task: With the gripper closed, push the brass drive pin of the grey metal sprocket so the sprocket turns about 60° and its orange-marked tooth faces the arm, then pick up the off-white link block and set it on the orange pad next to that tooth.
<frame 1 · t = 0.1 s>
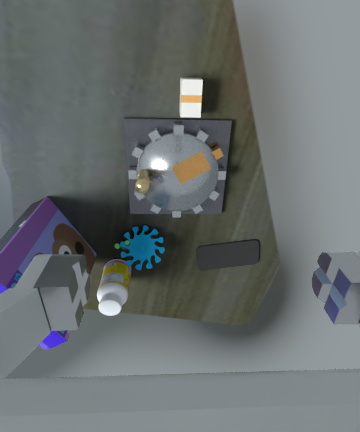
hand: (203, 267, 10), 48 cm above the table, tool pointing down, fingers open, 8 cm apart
sprocket: (178, 179, 54), point 5 cm above the table, hinge at 0.0°
supplement bottle: (118, 267, 71), on the table
blue splat toy: (141, 237, 67), on the table
link block: (189, 95, 52), on the table
cereal box: (65, 230, 65), on the table
phone: (227, 253, 71), on the table
base plate: (177, 169, 59), on the table
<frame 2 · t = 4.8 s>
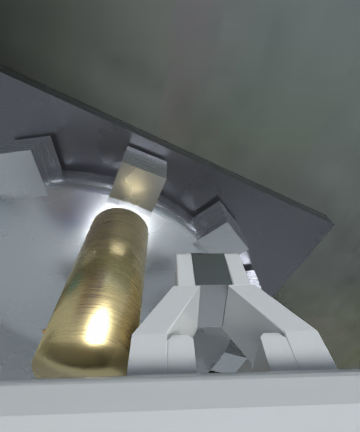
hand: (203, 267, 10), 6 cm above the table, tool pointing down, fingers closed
sprocket: (70, 366, 13), point 5 cm above the table, hinge at 2.3°, touching gripper
base plate: (95, 284, 18), on the table
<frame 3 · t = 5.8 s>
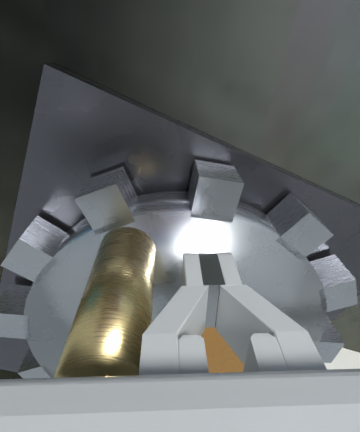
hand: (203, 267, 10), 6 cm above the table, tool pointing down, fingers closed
sprocket: (179, 376, 14), point 5 cm above the table, hinge at 44.1°, touching gripper
link block: (326, 359, 23), on the table
base plate: (176, 295, 18), on the table
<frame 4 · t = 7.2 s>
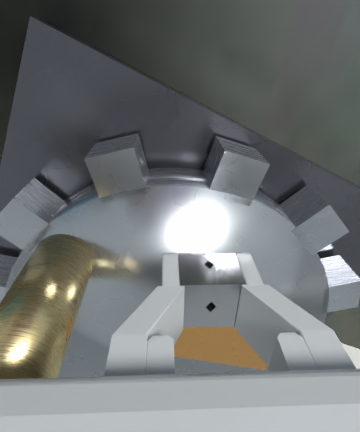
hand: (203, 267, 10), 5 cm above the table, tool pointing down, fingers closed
sprocket: (172, 367, 13), point 5 cm above the table, hinge at 68.5°
base plate: (169, 284, 17), on the table
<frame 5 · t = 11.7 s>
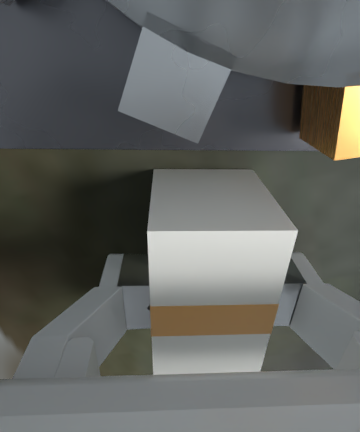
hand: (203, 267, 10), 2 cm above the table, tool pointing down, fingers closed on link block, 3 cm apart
link block: (199, 239, 12), on the table, touching gripper
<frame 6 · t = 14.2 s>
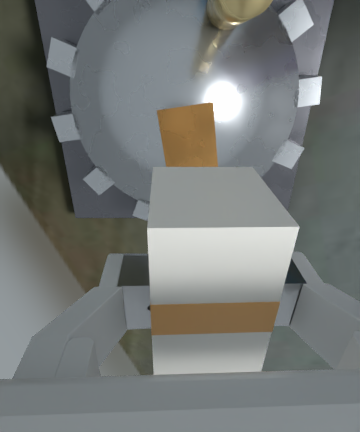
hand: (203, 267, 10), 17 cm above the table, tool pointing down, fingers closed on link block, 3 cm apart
sprocket: (186, 115, 19), point 5 cm above the table, hinge at 68.5°
link block: (198, 238, 11), point 15 cm above the table, touching gripper
base plate: (183, 104, 23), on the table
when the fingers open (6 cm above the table, at t = 16.5 s): link block drops 1 cm, resting on sprocket.
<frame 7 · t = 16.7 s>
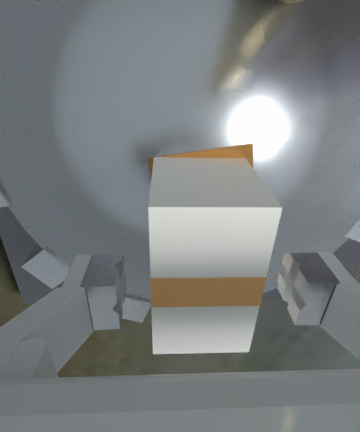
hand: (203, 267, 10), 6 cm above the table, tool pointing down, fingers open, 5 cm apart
sprocket: (207, 178, 9), point 5 cm above the table, hinge at 68.5°, touching link block
link block: (195, 224, 12), point 3 cm above the table, touching sprocket
base plate: (193, 136, 14), on the table
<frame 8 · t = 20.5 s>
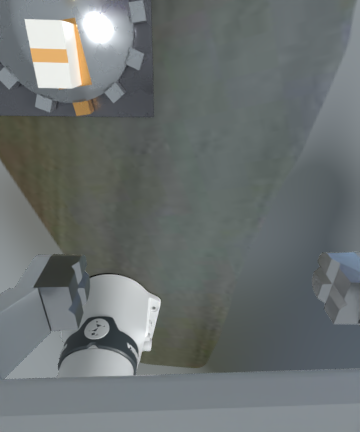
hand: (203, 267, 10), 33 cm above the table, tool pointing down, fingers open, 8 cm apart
sprocket: (51, 22, 29), point 5 cm above the table, hinge at 68.5°, touching link block
link block: (62, 55, 32), point 3 cm above the table, touching sprocket
base plate: (66, 26, 34), on the table
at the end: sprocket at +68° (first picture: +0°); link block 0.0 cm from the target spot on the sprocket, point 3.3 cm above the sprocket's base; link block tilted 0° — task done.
